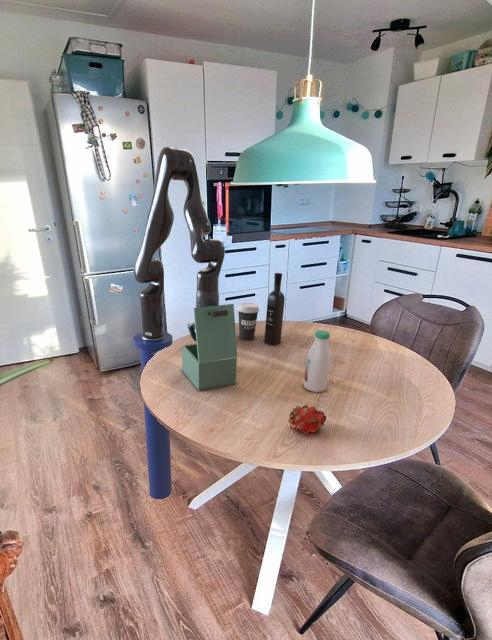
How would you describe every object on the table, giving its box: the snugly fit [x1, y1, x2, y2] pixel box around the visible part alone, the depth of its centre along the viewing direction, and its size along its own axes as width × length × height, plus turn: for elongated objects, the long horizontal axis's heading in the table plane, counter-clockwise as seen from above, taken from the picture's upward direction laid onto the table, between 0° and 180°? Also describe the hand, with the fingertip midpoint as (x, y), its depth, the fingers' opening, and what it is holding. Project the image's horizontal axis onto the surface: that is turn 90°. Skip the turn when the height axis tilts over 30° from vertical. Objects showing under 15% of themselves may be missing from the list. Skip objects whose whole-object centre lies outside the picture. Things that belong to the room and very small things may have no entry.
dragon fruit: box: [288, 404, 327, 437], centre depth 107 cm, size 8×8×12 cm
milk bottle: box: [303, 329, 332, 393], centre depth 128 cm, size 8×8×20 cm
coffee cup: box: [237, 302, 260, 341], centre depth 170 cm, size 10×10×15 cm
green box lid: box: [193, 303, 238, 363], centre depth 122 cm, size 17×14×5 cm
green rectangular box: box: [181, 342, 238, 392], centre depth 135 cm, size 17×14×10 cm
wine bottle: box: [263, 272, 286, 346], centre depth 163 cm, size 6×6×30 cm
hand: (206, 350), depth 134 cm, fingers closed on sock, 4 cm apart
